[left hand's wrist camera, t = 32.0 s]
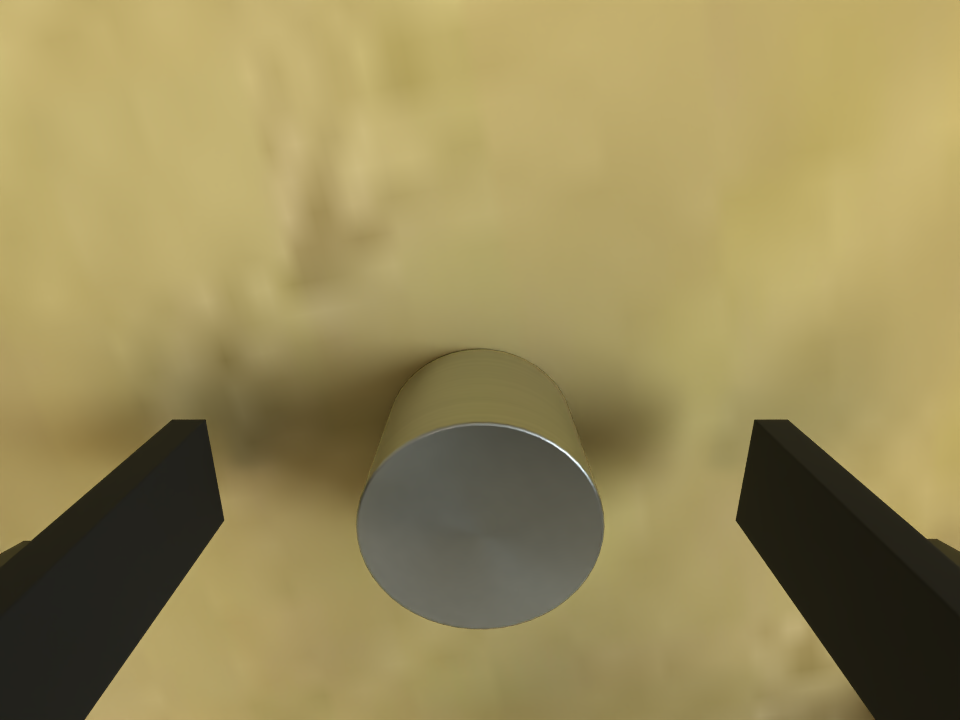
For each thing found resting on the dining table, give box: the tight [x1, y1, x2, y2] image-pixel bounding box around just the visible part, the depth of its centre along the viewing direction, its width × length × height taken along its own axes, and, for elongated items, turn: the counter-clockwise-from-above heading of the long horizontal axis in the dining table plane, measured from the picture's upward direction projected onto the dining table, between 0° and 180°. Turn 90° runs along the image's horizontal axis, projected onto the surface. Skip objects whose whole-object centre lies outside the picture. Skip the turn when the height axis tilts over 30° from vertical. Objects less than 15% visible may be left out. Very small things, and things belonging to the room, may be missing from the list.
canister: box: [356, 349, 604, 629], centre depth 13 cm, size 5×5×4 cm
